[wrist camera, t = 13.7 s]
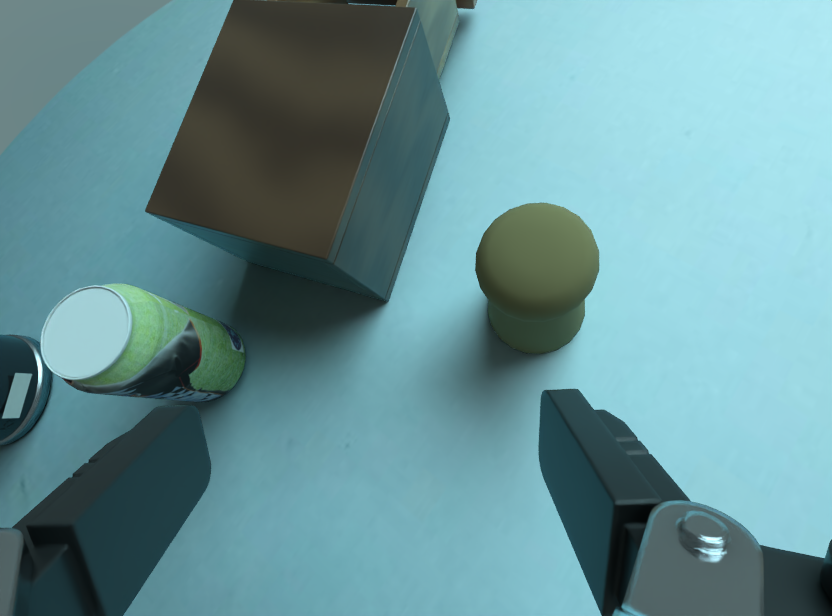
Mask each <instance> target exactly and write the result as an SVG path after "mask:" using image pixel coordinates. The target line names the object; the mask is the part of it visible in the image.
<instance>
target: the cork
mask: <svg viewBox="0 0 832 616" xmlns="http://www.w3.org/2000/svg"><path fill="white" fill-rule="evenodd" d="M475 271H476V275H477V278H478V281H479V285H480V288H481V290H482V291H483V293H484V294H485V296H486V297H487V298H488V315H489V319H490V322H491V326H492V328H493V329H494V331H495V332H496V334H497V335H498V337H499V338H500V339H501V340H502V341H504V342H505V343H506V344H507V345H509V346H510V347H511V348H514V349H516V350H519V351H522V352H525V353H534V354H543V353H547V352H551V351H555V350H558V349H559V348H561V347H562V346H564V345H565V344H567V343H569V342H570V341H571V340H572V338H573V337H574V336H575V335H576V334H577V332H578V331H579V330H580V327H581V324H582V322H583V319H584V316H585V298H586V297H587V296H588V294H589V293H590V292H591V290H592V289H593V286H594V283H595V280H596V278H597V275H598V272H599V250H598V247H597V245H596V242H595V239H594V237H593V234H592V231H591V230H590V229H589V227H588V226H587V225H586V224H585V223H584V222H583V220H582V219H581V218H580V217H579V216H577V215H576V214H574V213H572V212H571V211H569V210H567V209H566V208H564V207H561V206H557V205H552V204H548V203H531V204H525V205H522V206H519V207H516V208H513V209H510V210H508V211H507V212H505V213H504V214H502V215H501V216H499V217H498V218H497V219H495V220H494V221H493V223H492V224H491V225H490V226H489V228H488V229H487V230H486V231H485V233H484V234H483V237H482V239H481V242H480V244H479V247H478V250H477V252H476V267H475Z"/></svg>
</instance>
